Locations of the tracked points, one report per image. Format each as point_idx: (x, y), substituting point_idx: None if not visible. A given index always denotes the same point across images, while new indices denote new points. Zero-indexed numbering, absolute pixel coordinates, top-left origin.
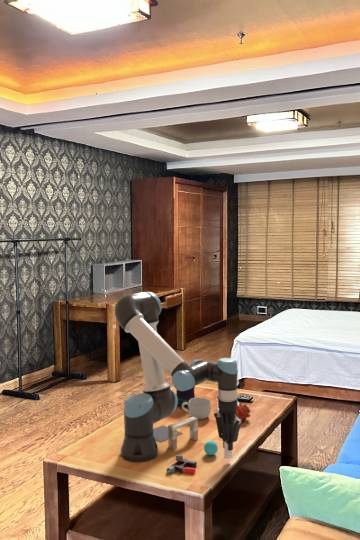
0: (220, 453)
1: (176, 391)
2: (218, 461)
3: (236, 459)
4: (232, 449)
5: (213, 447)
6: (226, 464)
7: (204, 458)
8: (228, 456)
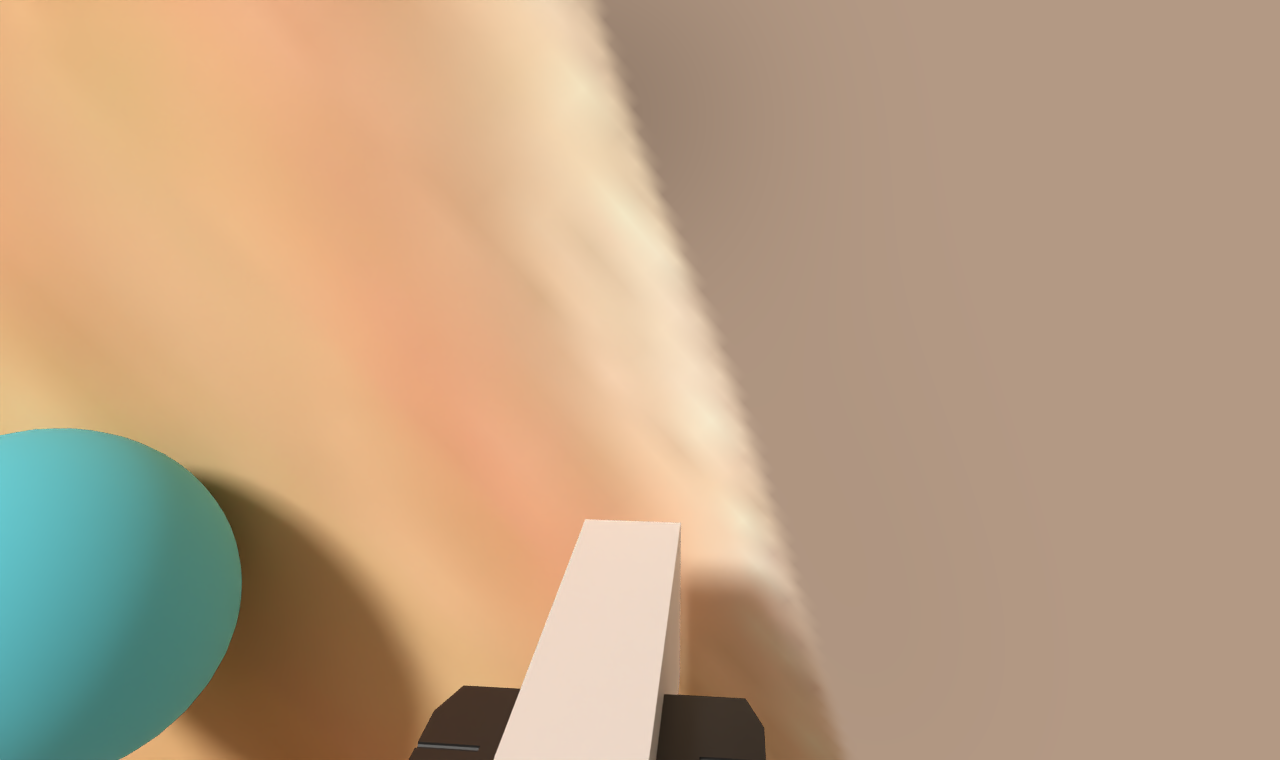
0: (235, 344)
1: None
2: (489, 644)
3: (692, 324)
4: (750, 716)
5: (146, 701)
6: (694, 641)
7: (221, 716)
8: (676, 661)
